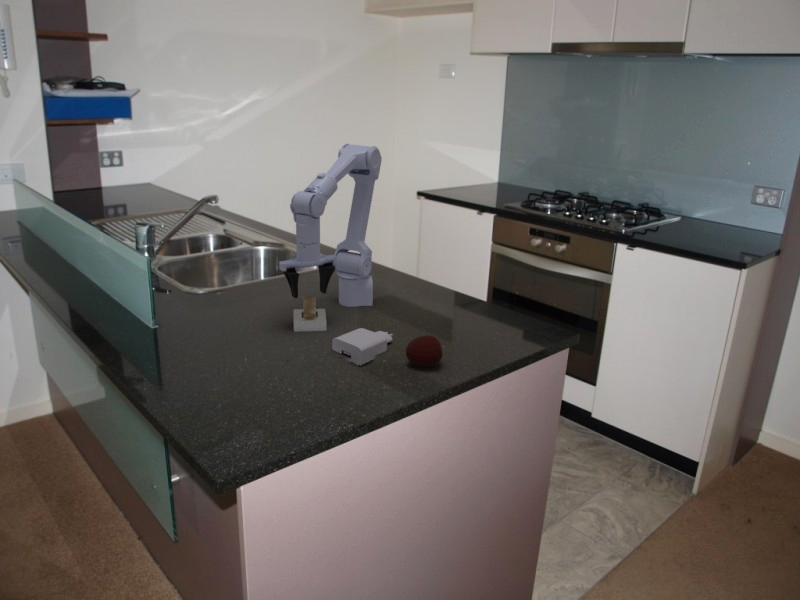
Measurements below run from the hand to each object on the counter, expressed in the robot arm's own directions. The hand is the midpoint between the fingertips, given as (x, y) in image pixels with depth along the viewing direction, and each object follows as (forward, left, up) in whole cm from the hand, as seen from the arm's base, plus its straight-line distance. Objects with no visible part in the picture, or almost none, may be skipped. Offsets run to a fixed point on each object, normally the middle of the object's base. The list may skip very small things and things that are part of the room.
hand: (309, 294), depth 159 cm
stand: (0, 0, -9) cm, 9 cm away
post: (0, 0, -8) cm, 8 cm away
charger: (-14, +14, -10) cm, 22 cm away
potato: (-25, +23, -10) cm, 35 cm away
